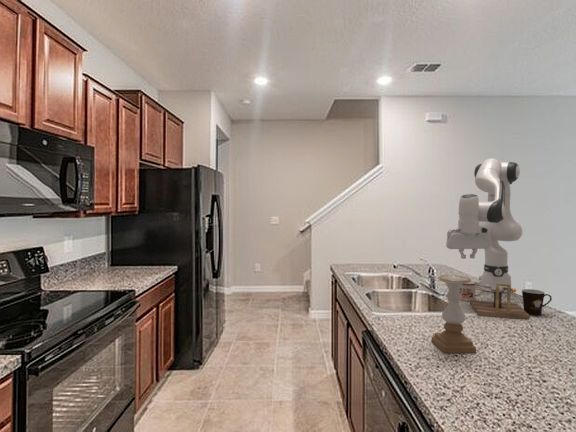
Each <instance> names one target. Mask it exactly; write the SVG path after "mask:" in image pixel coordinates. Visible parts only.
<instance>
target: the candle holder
mask: <svg viewBox="0 0 576 432" xmlns="http://www.w3.org/2000/svg"><path fill="white" fill-rule="evenodd" d="M471 280H472V279H471V278H470V277H469V276H466V277H465V276H462V275H454V274H453V275H452V274H447V275H446V274H444V275H439V276H438V281H440V282H442V283H443V282H444V283H445V285H446V287H447V288H448V292H447V293H446V295H445V297H446V299H447V301H448V303H447V305H446V307H445V309H444V310H443V311H442V314H441V318H442V320H443V321H445V323H444V325H443V328H444V330H443V331H442V332H435V333H434V334H433V336H431V343H432V344H433V345H434V346H435V347H436V348H438V349H439V350H440V351H441V352H442V353H444V354H476V353H477V347H476V346H475V345H474V342H473V341H472V340H471V339H469V338H468V336H466V335H465V334H464V333H463V331H464V327H463V323H464V322H465V320H466V315H465V312H464V311H463V309H462V307H461V305H460V303H461V299H462V296H461V294H460V288H461V287H462V285H463V284H465V283H470V282H471Z"/></svg>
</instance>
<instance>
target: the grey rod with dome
mask: <svg viewBox="0 0 576 432" xmlns="http://www.w3.org/2000/svg"><path fill="white" fill-rule="evenodd" d="M474 285H476V286H481V287H485V288H490V289H491V291H494V292H496V284H493V285H488V284H483V283H480V282H478V281H474ZM512 288H513V287H512ZM505 290H507V288H505V286H499V292H505ZM510 291H511V292H512V293H516V292H517V289H516V288H513V289H510ZM494 292H493V293H494ZM505 293H506V292H505Z"/></svg>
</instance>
